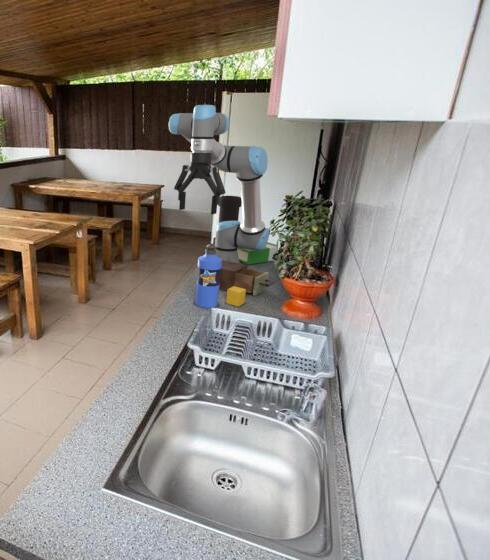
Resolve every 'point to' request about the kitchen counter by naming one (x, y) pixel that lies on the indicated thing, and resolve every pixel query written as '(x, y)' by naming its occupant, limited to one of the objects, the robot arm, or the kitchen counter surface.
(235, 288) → the toy block
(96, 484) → the kitchen counter surface
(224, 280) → the cabinet
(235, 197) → the grey black cylinder
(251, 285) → the drawer
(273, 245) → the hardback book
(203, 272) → the water bottle
